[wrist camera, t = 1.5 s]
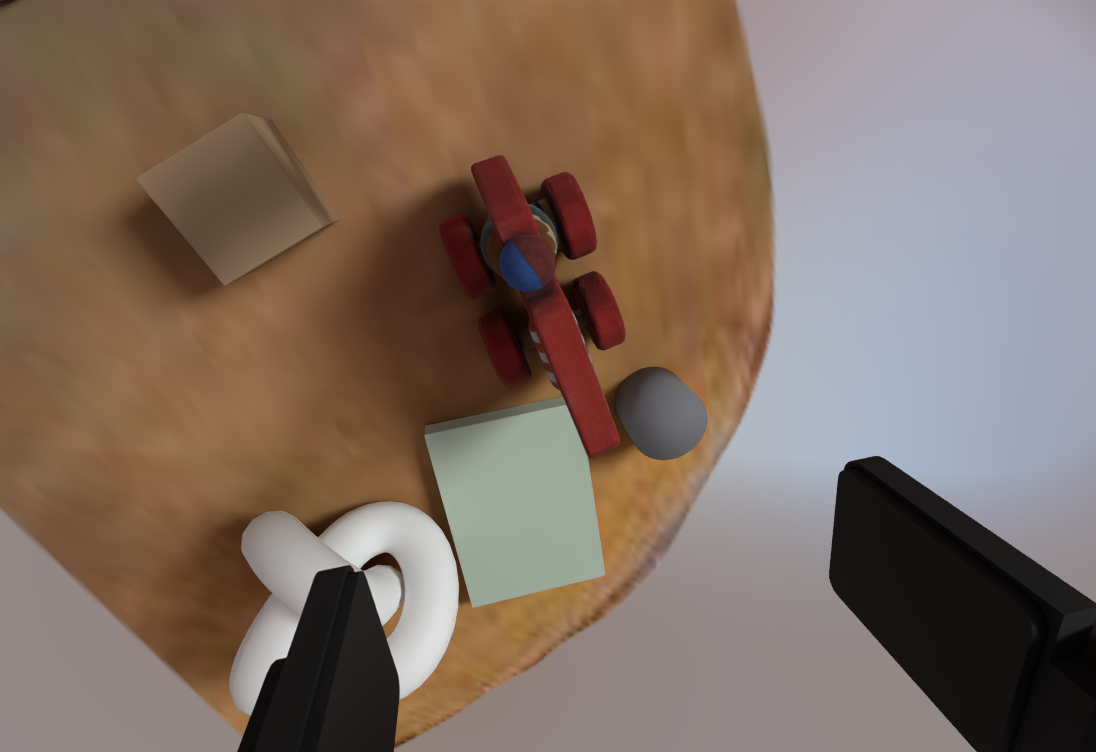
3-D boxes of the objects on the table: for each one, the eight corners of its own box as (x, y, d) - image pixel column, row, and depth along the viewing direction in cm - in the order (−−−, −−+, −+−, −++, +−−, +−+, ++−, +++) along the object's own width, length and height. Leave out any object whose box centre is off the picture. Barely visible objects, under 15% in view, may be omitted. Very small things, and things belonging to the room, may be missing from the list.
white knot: (198, 530, 31) (106, 660, 23) (365, 420, 31) (331, 514, 22) (330, 640, 36) (292, 782, 28) (478, 546, 35) (486, 664, 27)
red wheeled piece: (551, 133, 27) (603, 115, 17) (620, 351, 32) (691, 431, 22) (420, 183, 27) (401, 194, 17) (510, 394, 32) (534, 494, 22)
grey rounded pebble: (610, 374, 32) (627, 397, 29) (681, 360, 32) (705, 381, 29) (618, 438, 34) (635, 467, 30) (685, 424, 34) (709, 451, 31)
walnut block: (182, 176, 25) (135, 178, 21) (273, 120, 25) (241, 112, 21) (256, 269, 27) (224, 285, 23) (340, 218, 27) (322, 227, 23)
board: (425, 425, 31) (424, 435, 30) (575, 393, 32) (579, 401, 31) (471, 594, 36) (472, 607, 35) (600, 563, 37) (605, 575, 36)
